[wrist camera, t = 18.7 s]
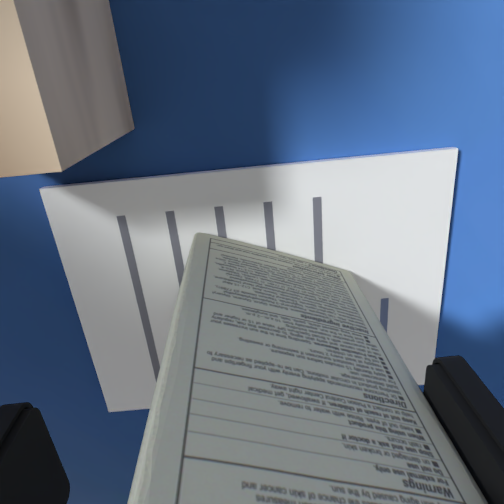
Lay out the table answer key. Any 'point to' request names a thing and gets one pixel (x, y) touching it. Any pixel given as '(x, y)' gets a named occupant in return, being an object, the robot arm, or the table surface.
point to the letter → (255, 233)
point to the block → (58, 84)
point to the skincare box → (287, 394)
